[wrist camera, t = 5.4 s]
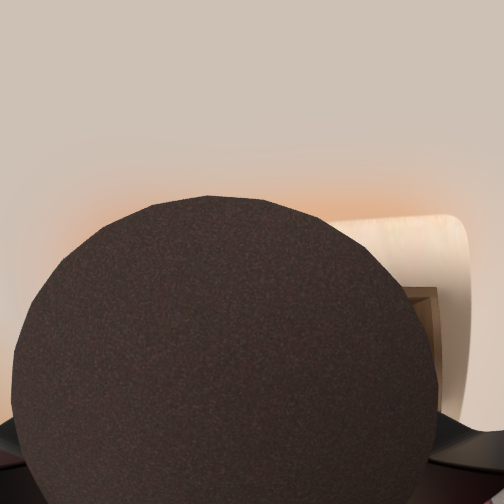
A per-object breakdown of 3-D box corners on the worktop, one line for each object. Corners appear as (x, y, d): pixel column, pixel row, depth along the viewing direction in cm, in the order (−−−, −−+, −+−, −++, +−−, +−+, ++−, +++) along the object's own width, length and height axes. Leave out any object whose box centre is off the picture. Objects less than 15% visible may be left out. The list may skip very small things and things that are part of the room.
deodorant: (163, 400, 16) (-23, 450, 2) (207, 318, 18) (142, 145, 4) (251, 442, 15) (315, 616, 1) (292, 359, 17) (474, 300, 4)
